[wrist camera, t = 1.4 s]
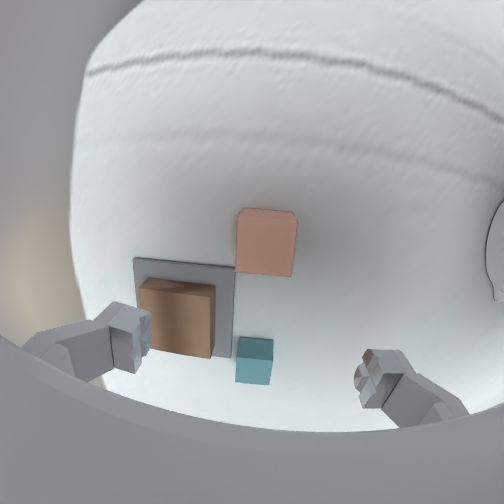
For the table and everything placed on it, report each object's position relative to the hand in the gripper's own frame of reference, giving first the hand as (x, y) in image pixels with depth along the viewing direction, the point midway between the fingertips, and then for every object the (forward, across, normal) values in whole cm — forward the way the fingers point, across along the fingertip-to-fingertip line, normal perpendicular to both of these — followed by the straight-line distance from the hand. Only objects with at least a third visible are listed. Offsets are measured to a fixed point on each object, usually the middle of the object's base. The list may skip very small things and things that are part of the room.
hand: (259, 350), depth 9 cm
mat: (+20, +7, +11) cm, 24 cm away
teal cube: (+20, -2, +15) cm, 25 cm away
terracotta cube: (+20, 0, 0) cm, 20 cm away
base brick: (+20, +7, +11) cm, 24 cm away
